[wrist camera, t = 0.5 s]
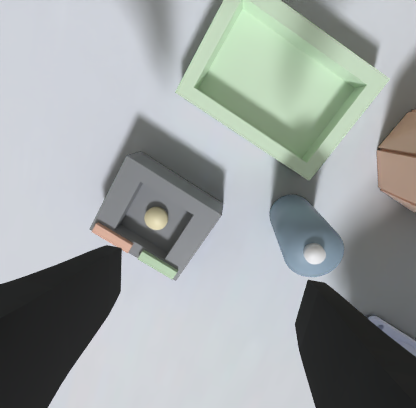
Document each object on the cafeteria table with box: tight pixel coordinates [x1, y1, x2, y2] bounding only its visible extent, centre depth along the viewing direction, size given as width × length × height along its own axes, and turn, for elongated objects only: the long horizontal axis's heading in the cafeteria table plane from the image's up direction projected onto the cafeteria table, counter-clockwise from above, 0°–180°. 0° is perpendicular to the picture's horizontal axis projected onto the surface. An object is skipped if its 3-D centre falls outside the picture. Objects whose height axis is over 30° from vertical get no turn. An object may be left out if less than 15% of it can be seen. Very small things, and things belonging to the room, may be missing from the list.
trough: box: [175, 0, 390, 181], centre depth 15 cm, size 10×7×2 cm
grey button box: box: [90, 151, 223, 281], centre depth 18 cm, size 7×6×3 cm
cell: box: [270, 195, 344, 277], centre depth 16 cm, size 3×3×6 cm
